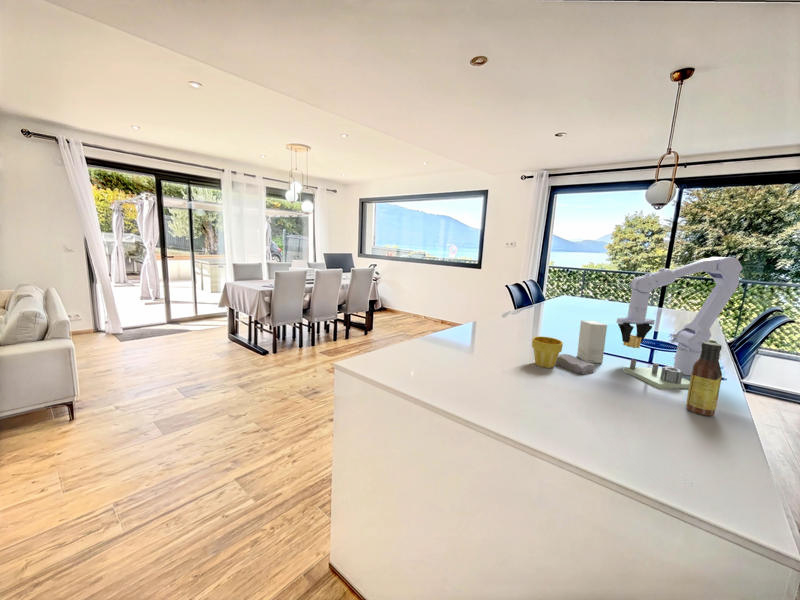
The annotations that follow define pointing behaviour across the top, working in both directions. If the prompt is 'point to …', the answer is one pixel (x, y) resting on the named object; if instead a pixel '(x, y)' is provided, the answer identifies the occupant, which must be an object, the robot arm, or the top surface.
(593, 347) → the skincare box
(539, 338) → the plant pot
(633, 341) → the brass gear
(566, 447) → the top surface
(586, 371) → the stone block
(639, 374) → the gear board
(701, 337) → the robot arm
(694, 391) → the sauce bottle
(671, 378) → the steel gear
